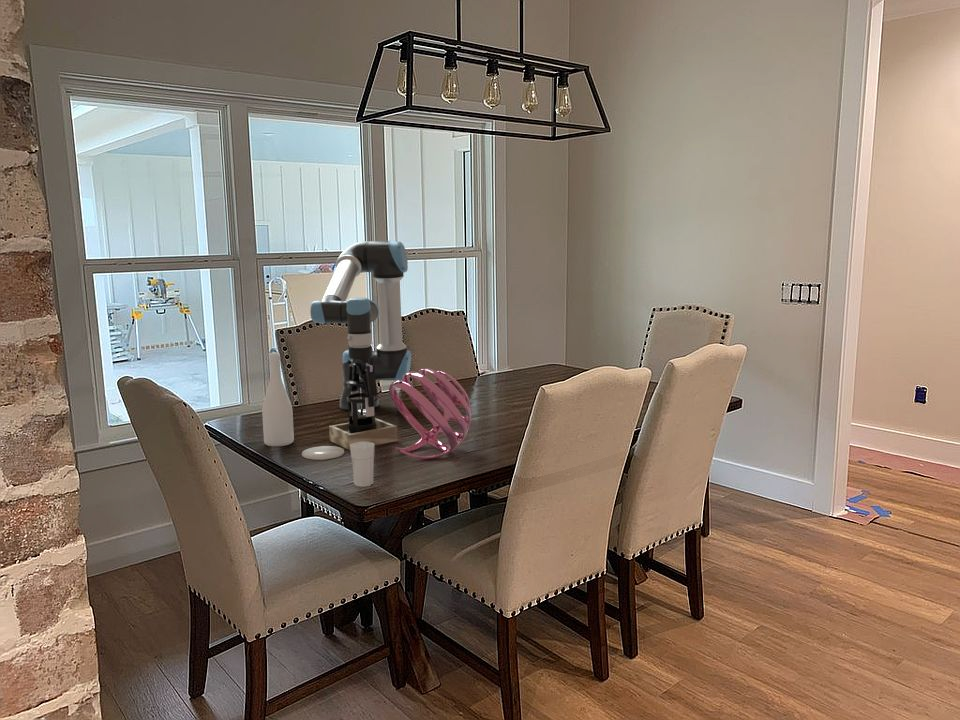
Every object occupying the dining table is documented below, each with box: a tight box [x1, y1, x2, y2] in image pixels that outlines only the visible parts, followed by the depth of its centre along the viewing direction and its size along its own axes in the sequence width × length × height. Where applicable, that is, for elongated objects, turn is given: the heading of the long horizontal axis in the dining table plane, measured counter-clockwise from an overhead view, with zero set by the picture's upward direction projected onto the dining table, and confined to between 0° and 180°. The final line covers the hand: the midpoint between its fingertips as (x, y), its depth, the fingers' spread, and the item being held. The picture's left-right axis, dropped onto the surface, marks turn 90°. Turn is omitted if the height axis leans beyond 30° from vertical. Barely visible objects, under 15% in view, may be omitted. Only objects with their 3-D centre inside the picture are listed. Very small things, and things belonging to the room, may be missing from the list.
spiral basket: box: [388, 367, 472, 460], centre depth 235 cm, size 28×28×27 cm
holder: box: [328, 417, 398, 451], centre depth 252 cm, size 14×17×5 cm
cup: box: [349, 442, 375, 488], centre depth 209 cm, size 7×7×11 cm
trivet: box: [301, 445, 345, 461], centre depth 238 cm, size 13×13×1 cm
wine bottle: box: [261, 351, 295, 447], centre depth 247 cm, size 10×10×30 cm
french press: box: [346, 363, 376, 434], centre depth 250 cm, size 12×9×23 cm
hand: (362, 413), depth 251 cm, fingers closed on french press, 9 cm apart
